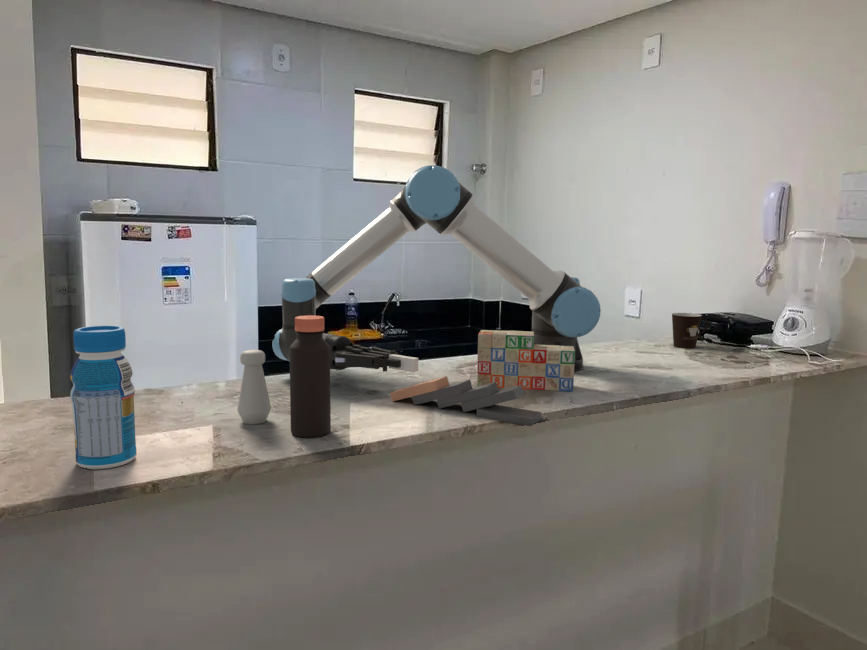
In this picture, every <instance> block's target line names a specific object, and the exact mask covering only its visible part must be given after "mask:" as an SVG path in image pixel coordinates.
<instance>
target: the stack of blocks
mask: <svg viewBox="0 0 867 650" xmlns="http://www.w3.org/2000/svg"><path fill="white" fill-rule="evenodd" d="M574 361H575V350H574V346H558V345H534V332H532V331H528V330H527V331H524V330H493V329H491V330H490V329H489V330H488V329H481V330H480V331H479V332H478V334H477V379H476V387H478V386H482V385H486V384H489V383H493V382H496V384H497V388H498V389H508V388H512V387H515V386H519V385H521V386H522V389H523V390H533V391H534V390H537V391H557V392H558V391H559V392H574V380H575V378H574V377H575V371H574Z"/></svg>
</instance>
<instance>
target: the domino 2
mask: <svg viewBox="0 0 867 650" xmlns="http://www.w3.org/2000/svg"><path fill="white" fill-rule="evenodd" d="M497 391H499V388H497V384H496V382H493V383H489V384H486V385H482V386H475V387H472V389H470V390H467V391H465V392H463V393H461V394H457V395H453V396H449V397H445V398H441V399H437V400H436V403H437V407H438V409H443V408H447V407H451V406H455V405H459V404H461V403H463V402H467V401H471V400H475V399H479V398H483V397H487V396H490V395H492V394H494V393H495V392H497Z"/></svg>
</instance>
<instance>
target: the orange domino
mask: <svg viewBox="0 0 867 650" xmlns="http://www.w3.org/2000/svg"><path fill="white" fill-rule="evenodd" d="M448 385H450V383H449V379H448V376H447V375H446V376H443V377H440V378H436V379H431V380H428V381H423V382H421V383H416V384H412V385H409V386H406V387H405V386H404V387H402V388H400V389H397V390H396V389H395V390H394V391H392V392H390V393H389V394H390V398H391V401H392V402H395V401H400V400H404V399H409V398H412V396H416V395H420V394H424V393H428V392H432V391H436V390H438V389H441V388H443V387H445V386H448Z"/></svg>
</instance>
